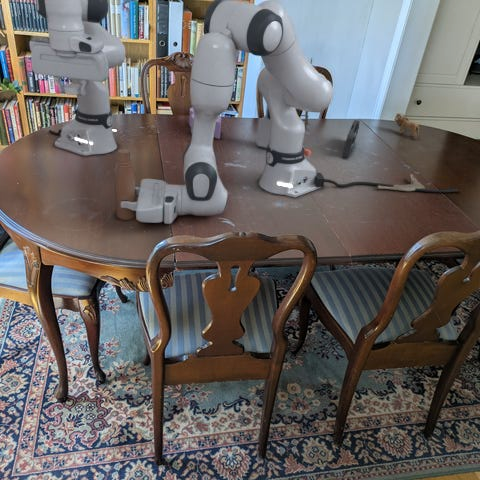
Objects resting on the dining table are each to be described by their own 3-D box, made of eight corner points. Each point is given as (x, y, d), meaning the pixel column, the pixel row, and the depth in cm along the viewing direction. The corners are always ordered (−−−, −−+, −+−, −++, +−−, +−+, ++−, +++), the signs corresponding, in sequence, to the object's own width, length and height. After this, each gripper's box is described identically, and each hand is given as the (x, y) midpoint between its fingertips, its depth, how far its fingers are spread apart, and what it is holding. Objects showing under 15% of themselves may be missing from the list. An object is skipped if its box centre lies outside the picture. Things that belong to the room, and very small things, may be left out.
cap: (66, 95, 126) (65, 88, 125) (63, 91, 130) (62, 84, 128) (82, 94, 128) (82, 87, 127) (79, 90, 131) (78, 83, 130)
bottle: (115, 211, 137) (112, 147, 127) (134, 209, 139) (132, 146, 129) (117, 220, 133) (114, 155, 123) (137, 218, 135) (135, 154, 124)
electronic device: (288, 147, 193) (299, 72, 177) (283, 153, 187) (295, 76, 171) (259, 141, 196) (268, 67, 179) (254, 147, 190) (262, 71, 173)
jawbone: (429, 189, 172) (431, 184, 171) (394, 201, 161) (396, 196, 160) (410, 177, 177) (412, 172, 176) (375, 189, 167) (376, 184, 165)
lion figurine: (389, 131, 222) (394, 113, 217) (394, 129, 226) (399, 111, 221) (418, 140, 215) (424, 121, 210) (423, 138, 218) (429, 119, 214)
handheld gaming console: (349, 160, 187) (354, 136, 182) (342, 158, 188) (347, 134, 183) (355, 142, 206) (361, 119, 201) (349, 140, 207) (354, 118, 201)
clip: (182, 123, 206) (183, 107, 202) (209, 122, 210) (210, 106, 207) (197, 140, 191) (197, 123, 187) (225, 138, 195) (226, 122, 191)
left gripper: (22, 38, 119) (30, 92, 127) (101, 47, 118) (104, 101, 126) (34, 34, 124) (41, 86, 132) (109, 42, 124) (112, 95, 131)
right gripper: (172, 174, 142) (125, 172, 140) (170, 207, 125) (117, 205, 123) (171, 192, 145) (126, 191, 143) (170, 227, 128) (118, 225, 126)
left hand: (72, 93), depth 129 cm, fingers closed on cap, 4 cm apart
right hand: (122, 198), depth 133 cm, fingers closed on bottle, 5 cm apart
